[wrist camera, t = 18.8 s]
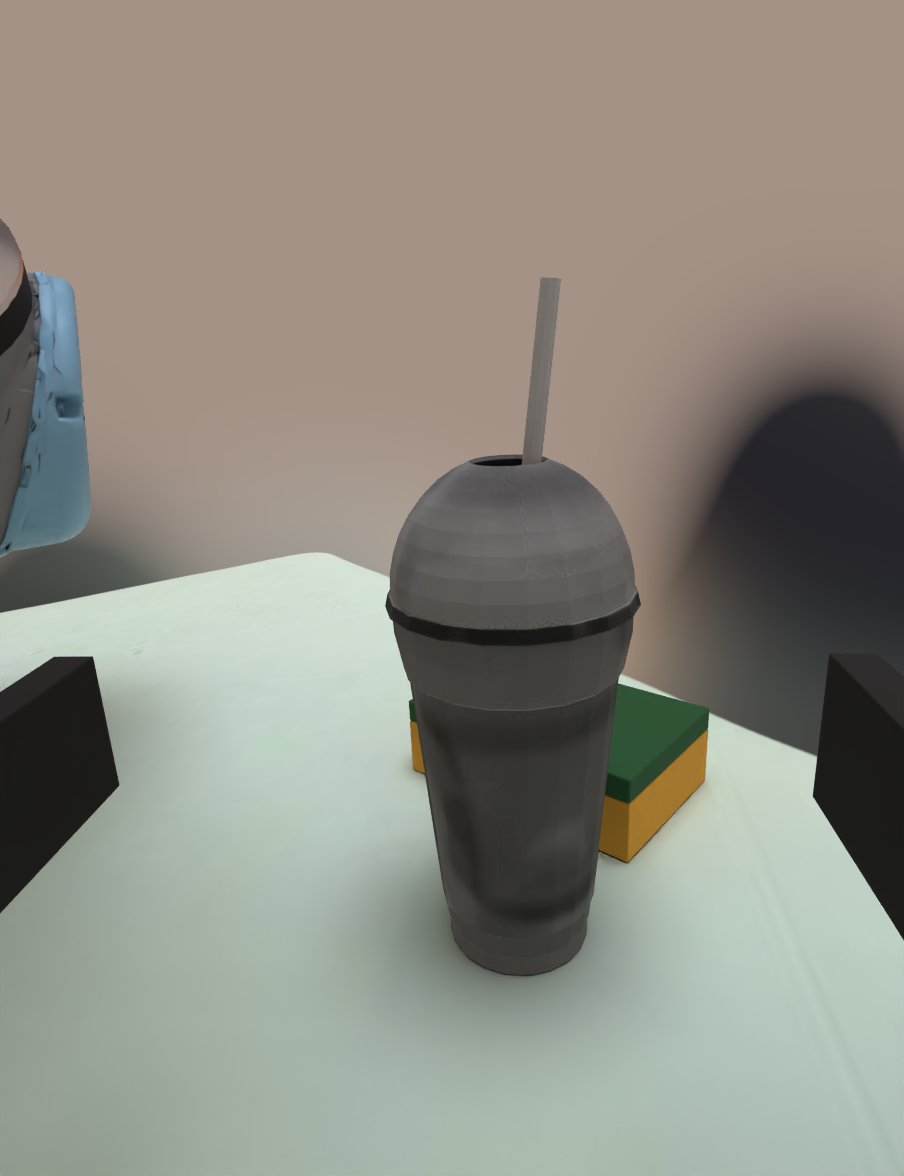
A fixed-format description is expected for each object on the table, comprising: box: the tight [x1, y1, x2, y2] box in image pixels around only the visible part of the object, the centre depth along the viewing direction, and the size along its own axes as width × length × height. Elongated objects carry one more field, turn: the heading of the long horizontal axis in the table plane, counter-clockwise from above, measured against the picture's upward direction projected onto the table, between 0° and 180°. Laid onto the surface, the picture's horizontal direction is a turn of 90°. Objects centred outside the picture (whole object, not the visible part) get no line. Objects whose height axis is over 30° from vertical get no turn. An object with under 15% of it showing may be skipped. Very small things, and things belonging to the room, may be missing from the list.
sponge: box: [409, 684, 709, 862], centre depth 33 cm, size 11×7×4 cm, turn 49°
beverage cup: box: [385, 278, 641, 975], centre depth 22 cm, size 7×7×20 cm
